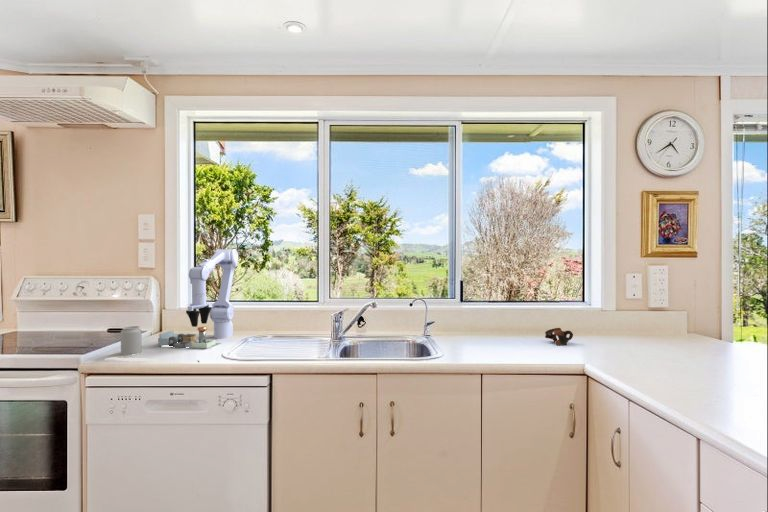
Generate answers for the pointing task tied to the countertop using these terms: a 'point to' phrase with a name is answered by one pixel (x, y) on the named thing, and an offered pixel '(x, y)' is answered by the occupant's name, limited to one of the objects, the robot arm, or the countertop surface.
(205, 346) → the tray
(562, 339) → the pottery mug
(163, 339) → the trolley
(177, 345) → the ramp board
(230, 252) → the robot arm
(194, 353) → the countertop surface
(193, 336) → the wooden cube
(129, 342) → the can
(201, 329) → the pin
